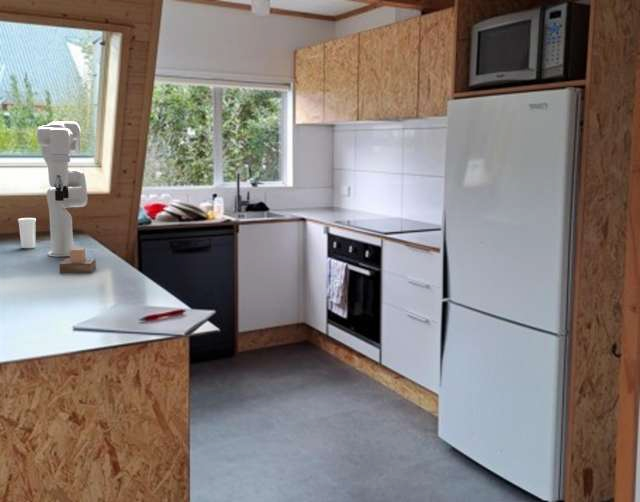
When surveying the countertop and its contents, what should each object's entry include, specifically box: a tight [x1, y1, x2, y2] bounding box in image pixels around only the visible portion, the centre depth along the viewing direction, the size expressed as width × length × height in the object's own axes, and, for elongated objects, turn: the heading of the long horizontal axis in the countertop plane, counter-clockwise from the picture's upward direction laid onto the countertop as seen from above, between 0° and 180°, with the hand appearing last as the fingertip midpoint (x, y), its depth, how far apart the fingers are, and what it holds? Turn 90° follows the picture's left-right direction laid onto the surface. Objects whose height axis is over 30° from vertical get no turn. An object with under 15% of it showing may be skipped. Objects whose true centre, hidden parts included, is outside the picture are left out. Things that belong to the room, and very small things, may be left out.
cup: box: [17, 217, 37, 249], centre depth 322 cm, size 8×8×14 cm
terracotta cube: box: [69, 247, 86, 262], centre depth 272 cm, size 5×5×5 cm
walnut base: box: [58, 257, 97, 274], centre depth 273 cm, size 12×12×4 cm
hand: (62, 199), depth 280 cm, fingers open, 9 cm apart
